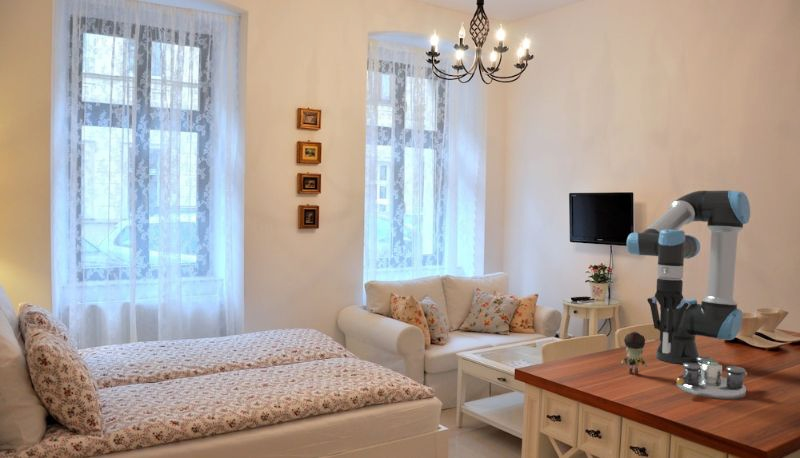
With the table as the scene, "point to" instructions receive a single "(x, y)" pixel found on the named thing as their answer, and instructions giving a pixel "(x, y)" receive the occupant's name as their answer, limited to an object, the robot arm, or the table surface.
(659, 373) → the table surface
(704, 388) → the tribrach plate
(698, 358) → the knob
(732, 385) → the knob
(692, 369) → the knob
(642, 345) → the toy
